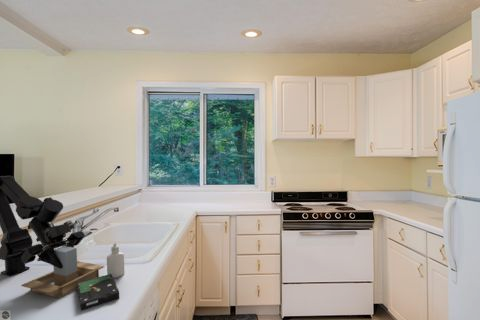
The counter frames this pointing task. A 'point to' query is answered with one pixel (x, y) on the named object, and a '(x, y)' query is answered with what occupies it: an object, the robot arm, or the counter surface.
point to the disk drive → (97, 291)
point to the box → (66, 265)
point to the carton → (43, 287)
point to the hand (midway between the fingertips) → (68, 265)
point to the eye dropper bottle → (115, 262)
